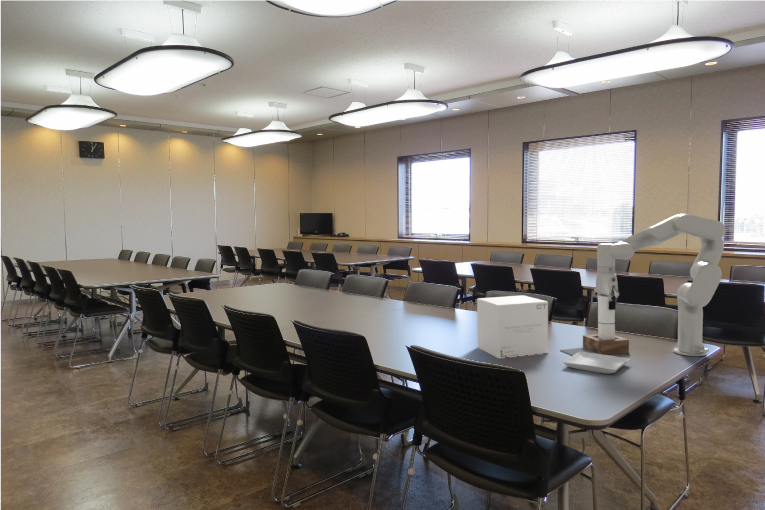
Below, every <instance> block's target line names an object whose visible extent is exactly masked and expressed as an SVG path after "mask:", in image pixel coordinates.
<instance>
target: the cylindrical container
mask: <svg viewBox="0 0 765 510" xmlns="http://www.w3.org/2000/svg"><path fill="white" fill-rule="evenodd" d="M611 297H613V296H611ZM609 301H610V300H609V297H608V295H598V307H597V319H598V320H597V334H598V339H601V340H612V339H615V335H616V325H615V324H616V320H615V318H616V317H615V316H616V315H615V314H616V309H615V310H609Z"/></svg>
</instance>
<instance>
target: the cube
mask: <svg viewBox="0 0 765 510" xmlns="http://www.w3.org/2000/svg"><path fill="white" fill-rule="evenodd" d="M476 305H477V306H476V309H477V311H476V312H477V313H476V315H477V316H476V317H477V322H476V323H477V348H478V349H480V350H481V351H483V352H486V353H487V354H490V355H492V356H493V357H495V358H497V359H506V358H505V357H509V358H518V357H517V356H519V357H526V356H525V355H528V356H535V355H534V354H538V355H544V354H543V353H548V354H549V301H548V300H544V299H543V300H542V299H540V298H535V297H532V296H528V295H525V294H524V295H508V296H507V295H506V296H495V297H493V296H492V297H481V298H480V297H479V298H477V299H476Z"/></svg>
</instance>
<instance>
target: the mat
mask: <svg viewBox="0 0 765 510" xmlns="http://www.w3.org/2000/svg"><path fill="white" fill-rule="evenodd" d="M559 351H560V352H561V351H562V352H561V353H565V354H566V355H570V357H571V356H573V355H575V354H576V353H578V352H586V353H594V354H598V353H595V352H593V351H590V350H587V349H585V348H583V347H576V348H566V349H559Z"/></svg>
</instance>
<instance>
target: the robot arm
mask: <svg viewBox="0 0 765 510" xmlns="http://www.w3.org/2000/svg"><path fill="white" fill-rule="evenodd" d="M726 232H727V228H726V225H725V224H724V222H723V223H722V221H720V220H716V219H710V218H707V217H702V216H699V215H693V214H689V213H679V214H675V215H672V216H670V217H669V218H667V219H664V220H662V221H660V222H657V223H656V224H654V225H652V226H649V227H648V228H645V229H643V230H641V231H638V232H637V233H635V234H632V235H629V236H627V237H626V238H624V239H621V240H620V241H617V242H616V243H611V242H605V243H603V242H602V243H599V244H597V247H596V259H597V260H596V267H597V268H596V271H597V272H596V276H595V277H596V279H595V287H594V288H593V292H594V295H595V296H596V301H597V305H596V306H597V308H598V295H608V297H609V300H610V301H609V310H615V311H616V308H617V307H616V305H617V304H616V303H617V300H618V297H619V296H620V292H619V285H618V277H617V273H616V259H617V260H629V259H632V257H634V255H635V252H637V251H640V250H642V249H645V248H649V247H654V246H658V245H660V244H663V243H664V242H667V241H668V240H672V239H673V238H675V237H678V236H679V235H682V234H686V235H689V236H693V237H698V238H699V239H700V248H699V251H698V254H697V255H696V257H695V258H694V259H695V260H694V262H693V264H692V266H691V267H690V270H689V275H690V278H692V279H693V280H692V282H686V283H683V284H681V285H680V286H679V287H678V289H677V292H676V299H677V311H678V312H677V314H678V315H677V316H678V317H677V347H674V348H673V352H674V353H675V354H677V355H681V356H682V355H683V356H687V357H704V356H706V355H707V353H709V348H705V344H703V323H704V321H703V319H704V310H703V307H706V306H707V305H708V304H709V303H710V301H712V298H713V296H714V295H715V293H716V290H717V288H718V286H719V284H720V282H721V280H722V275H723V273H722V268H721V267H720V266H719V262H720V261H721V258H722V256H723V253H724V248H725V244H724V239H723V237H725V235H726ZM611 296H613V297H611Z"/></svg>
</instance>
